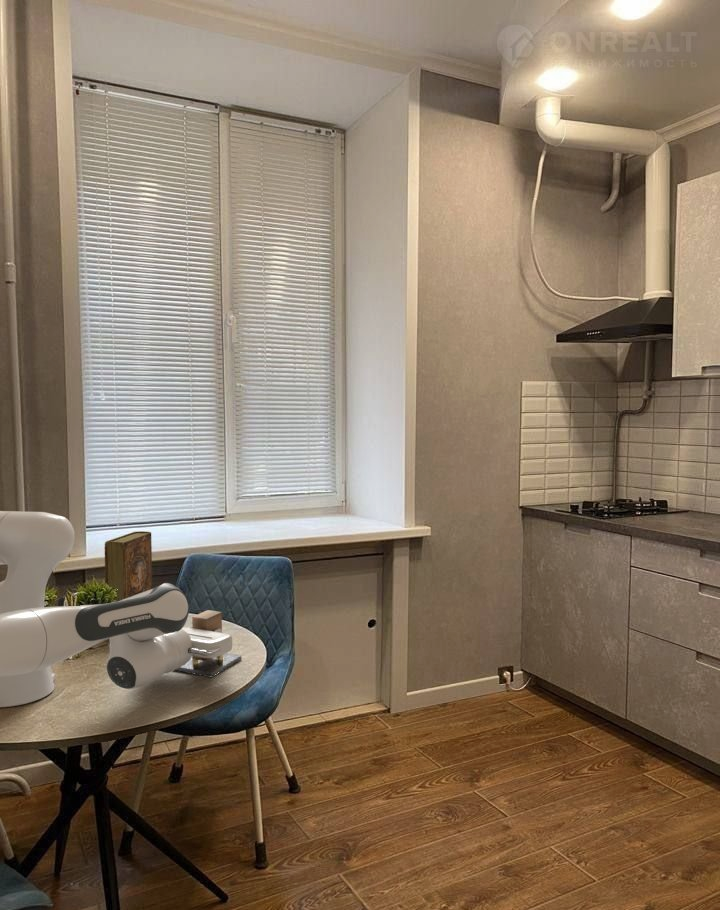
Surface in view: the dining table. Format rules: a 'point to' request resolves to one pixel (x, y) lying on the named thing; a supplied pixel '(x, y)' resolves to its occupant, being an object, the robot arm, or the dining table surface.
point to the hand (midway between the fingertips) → (209, 629)
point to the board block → (207, 623)
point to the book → (129, 564)
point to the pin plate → (209, 664)
